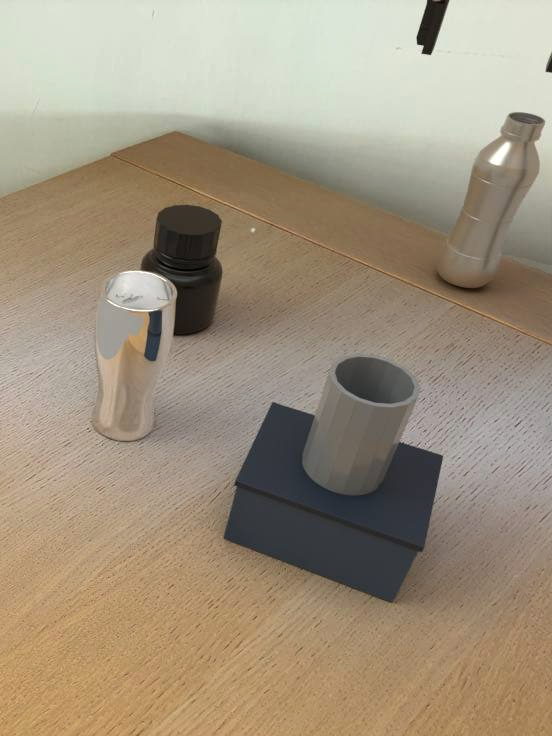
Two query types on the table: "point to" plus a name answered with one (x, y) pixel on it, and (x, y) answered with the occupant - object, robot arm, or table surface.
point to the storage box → (332, 510)
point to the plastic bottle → (492, 202)
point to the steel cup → (359, 423)
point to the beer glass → (131, 350)
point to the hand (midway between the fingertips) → (487, 60)
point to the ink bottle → (188, 262)
